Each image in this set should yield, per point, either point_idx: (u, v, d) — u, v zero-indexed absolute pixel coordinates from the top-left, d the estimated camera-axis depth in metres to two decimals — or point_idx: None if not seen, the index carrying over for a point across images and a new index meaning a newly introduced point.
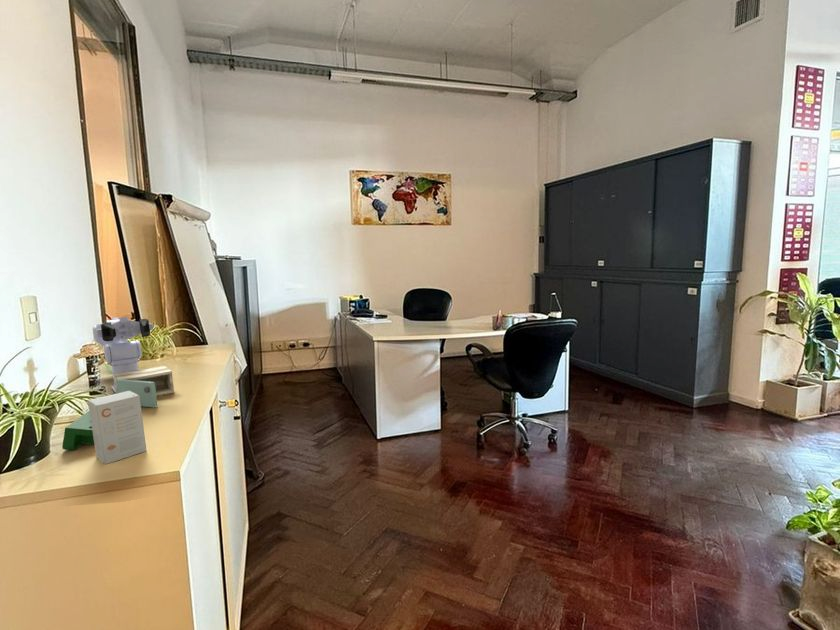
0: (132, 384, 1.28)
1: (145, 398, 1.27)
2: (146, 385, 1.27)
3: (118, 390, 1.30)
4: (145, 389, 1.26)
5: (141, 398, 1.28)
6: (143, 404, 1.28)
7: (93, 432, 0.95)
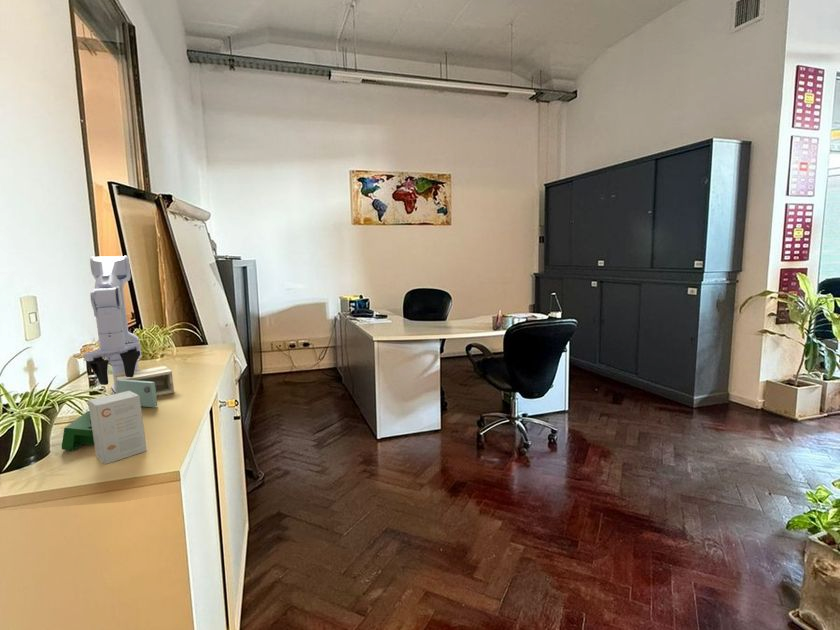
0: (132, 384, 1.28)
1: (145, 398, 1.27)
2: (146, 385, 1.27)
3: (118, 390, 1.30)
4: (145, 389, 1.26)
5: (141, 398, 1.28)
6: (143, 404, 1.28)
7: (93, 432, 0.95)
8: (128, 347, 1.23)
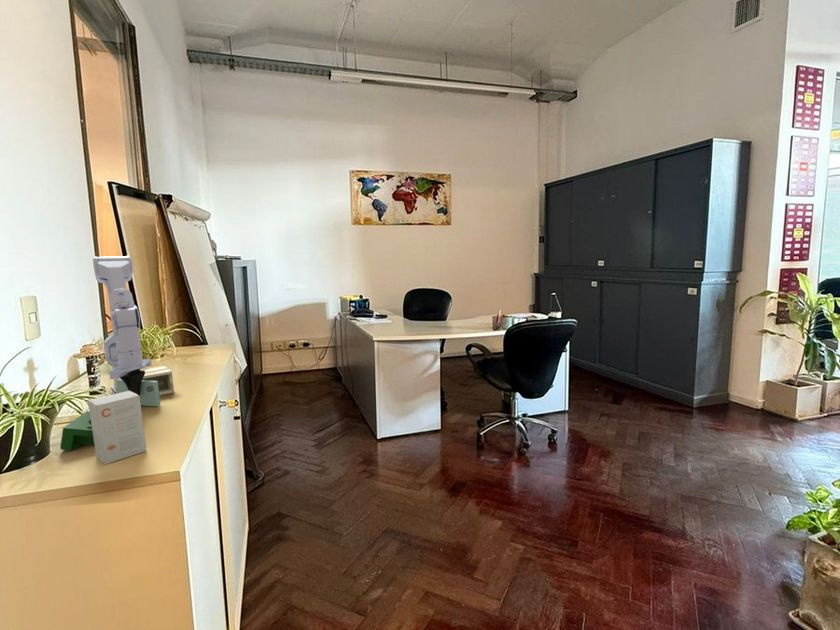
0: None
1: (148, 397, 1.28)
2: (149, 385, 1.27)
3: (118, 390, 1.30)
4: (148, 388, 1.27)
5: (143, 397, 1.28)
6: (145, 403, 1.29)
7: (93, 432, 0.95)
8: (145, 364, 1.29)
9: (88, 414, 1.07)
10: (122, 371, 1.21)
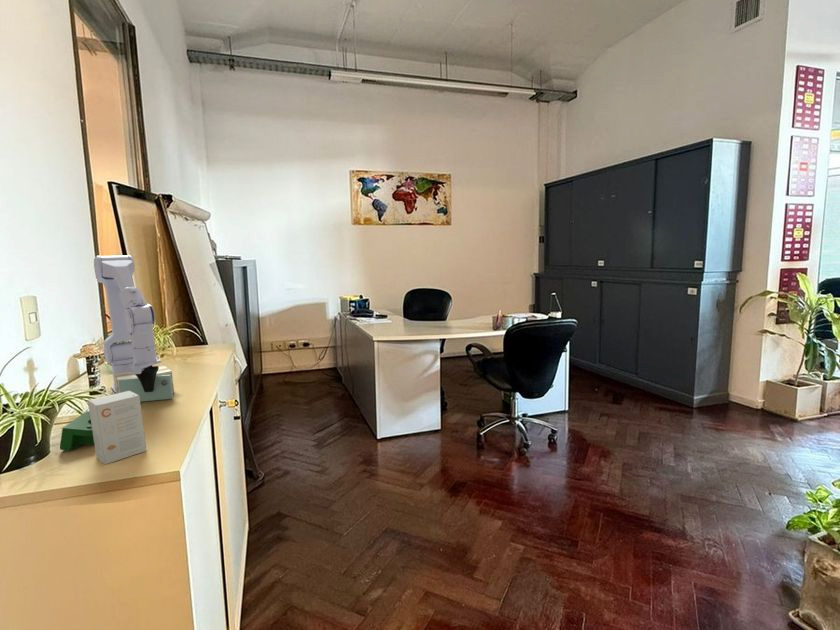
0: None
1: (160, 391, 1.33)
2: (162, 379, 1.33)
3: (121, 390, 1.31)
4: (163, 382, 1.33)
5: (155, 392, 1.33)
6: (157, 398, 1.33)
7: (93, 432, 0.95)
8: None
9: (87, 414, 1.07)
10: (143, 366, 1.25)
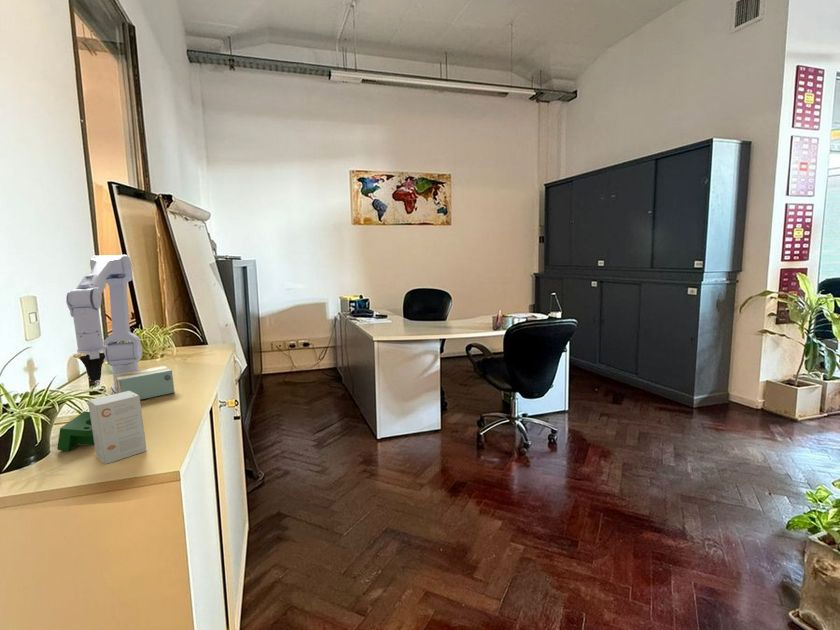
0: (146, 378, 1.35)
1: (163, 386, 1.38)
2: (165, 374, 1.38)
3: (124, 389, 1.31)
4: (167, 377, 1.38)
5: (158, 388, 1.37)
6: (160, 393, 1.38)
7: (93, 432, 0.95)
8: None
9: (85, 414, 1.07)
10: (99, 351, 1.19)
